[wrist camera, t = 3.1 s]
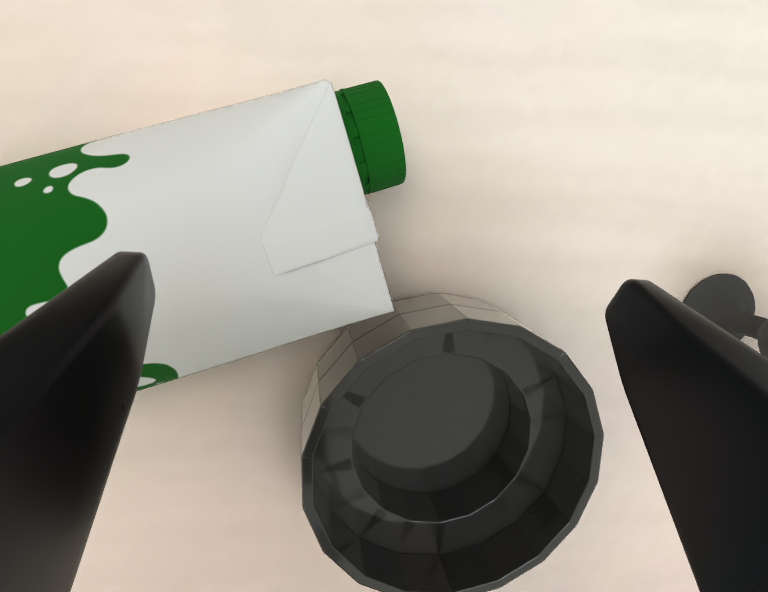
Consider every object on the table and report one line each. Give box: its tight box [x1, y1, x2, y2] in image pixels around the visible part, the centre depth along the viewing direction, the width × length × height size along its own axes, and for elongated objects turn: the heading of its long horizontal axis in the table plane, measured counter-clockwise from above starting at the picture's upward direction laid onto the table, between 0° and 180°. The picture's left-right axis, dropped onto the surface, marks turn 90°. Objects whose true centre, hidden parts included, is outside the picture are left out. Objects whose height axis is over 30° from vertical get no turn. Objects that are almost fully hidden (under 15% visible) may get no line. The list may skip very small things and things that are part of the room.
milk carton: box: [0, 80, 406, 391], centre depth 19 cm, size 9×9×20 cm
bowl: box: [301, 293, 604, 592], centre depth 24 cm, size 14×14×6 cm
